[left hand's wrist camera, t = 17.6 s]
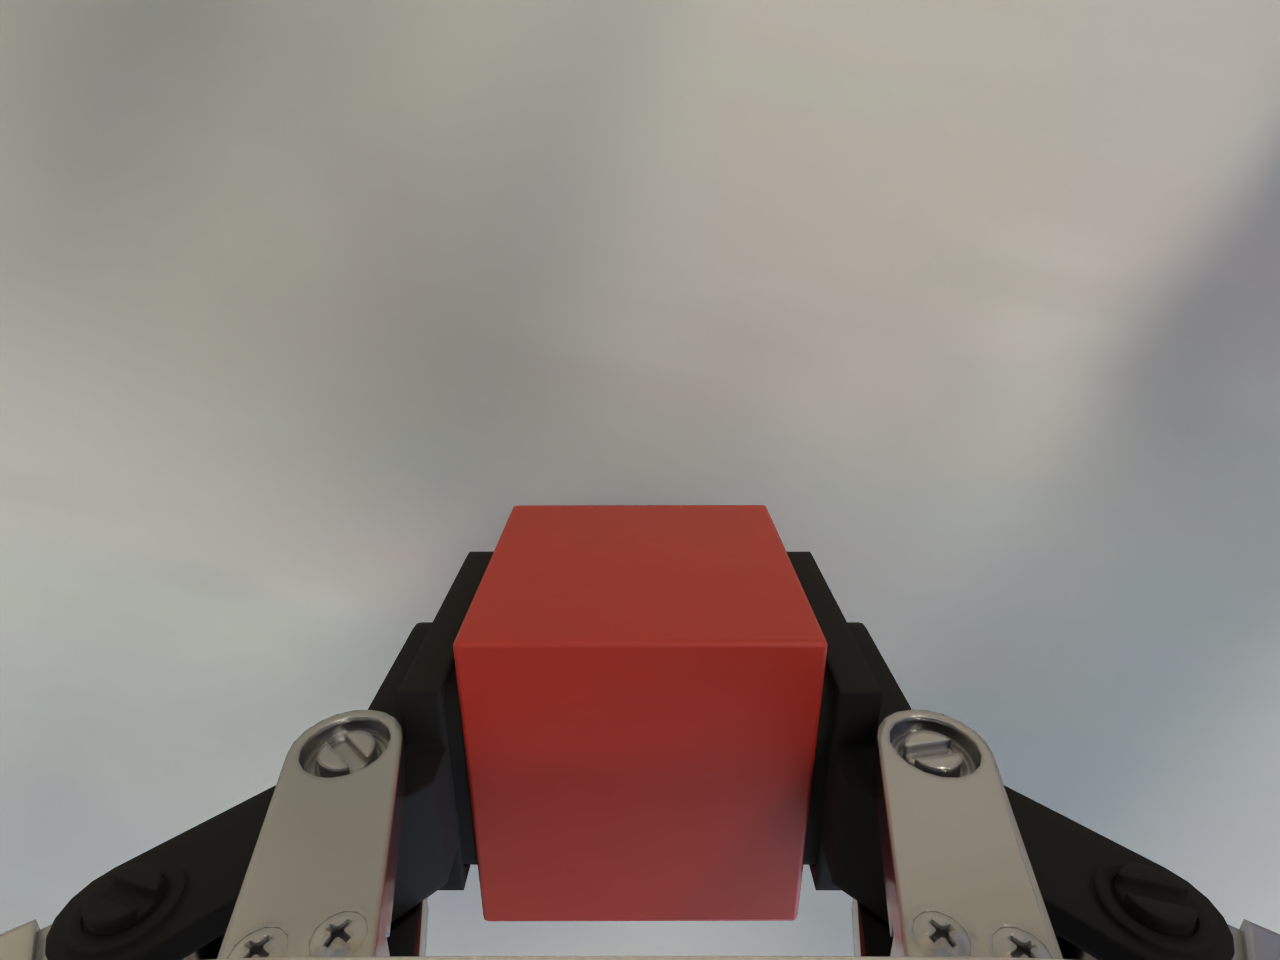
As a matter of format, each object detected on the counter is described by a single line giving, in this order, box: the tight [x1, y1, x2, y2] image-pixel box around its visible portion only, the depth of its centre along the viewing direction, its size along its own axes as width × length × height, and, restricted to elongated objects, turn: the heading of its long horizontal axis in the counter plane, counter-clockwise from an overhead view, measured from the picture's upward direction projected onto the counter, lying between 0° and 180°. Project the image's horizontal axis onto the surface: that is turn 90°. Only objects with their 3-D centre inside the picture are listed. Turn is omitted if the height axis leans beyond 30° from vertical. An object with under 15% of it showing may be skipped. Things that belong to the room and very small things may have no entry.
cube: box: [453, 505, 828, 921], centre depth 11 cm, size 4×5×4 cm
